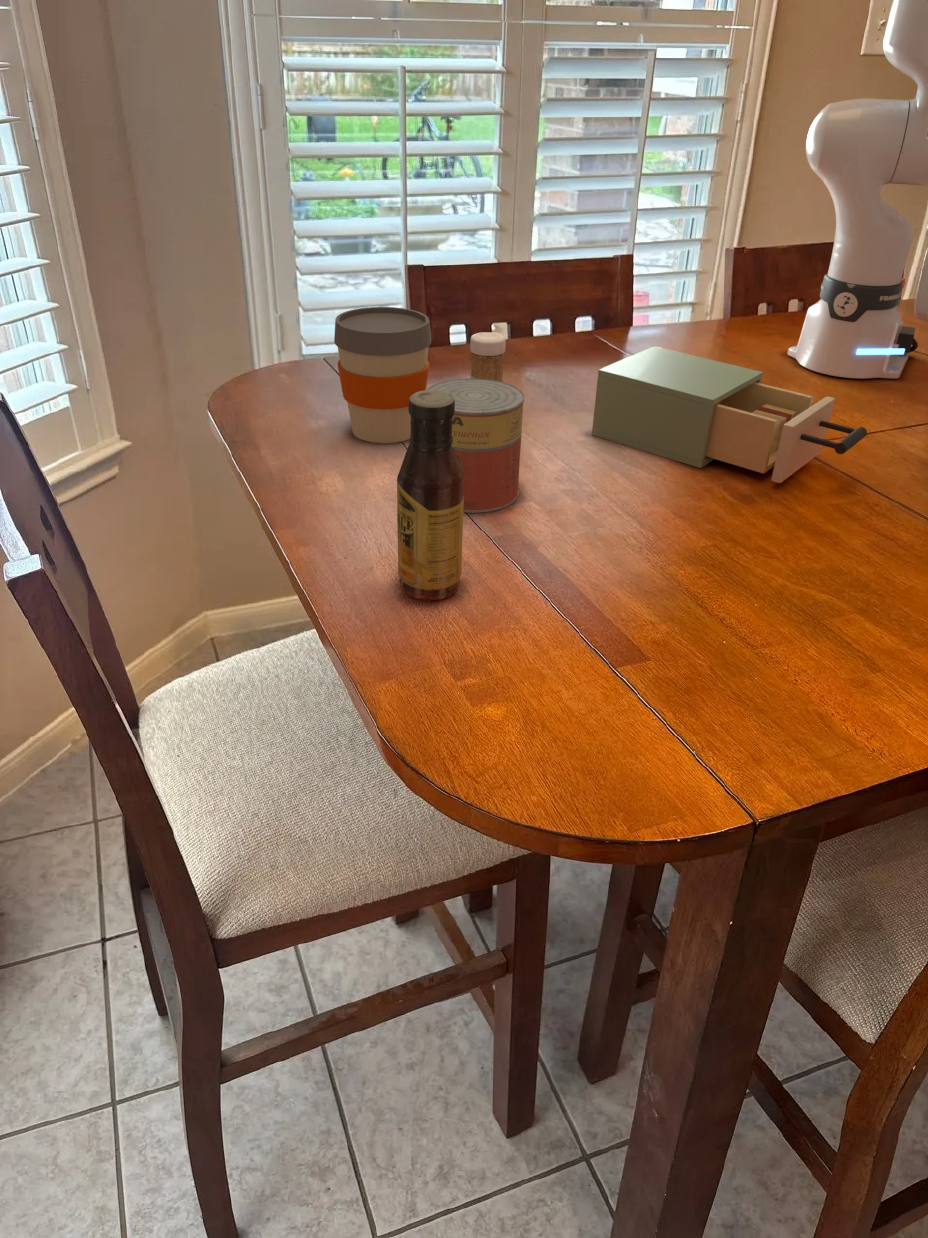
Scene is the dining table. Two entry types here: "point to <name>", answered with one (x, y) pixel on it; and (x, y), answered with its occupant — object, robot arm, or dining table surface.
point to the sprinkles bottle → (487, 356)
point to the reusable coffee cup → (382, 368)
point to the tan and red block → (779, 415)
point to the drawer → (752, 435)
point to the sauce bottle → (430, 501)
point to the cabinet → (665, 401)
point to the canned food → (486, 440)
